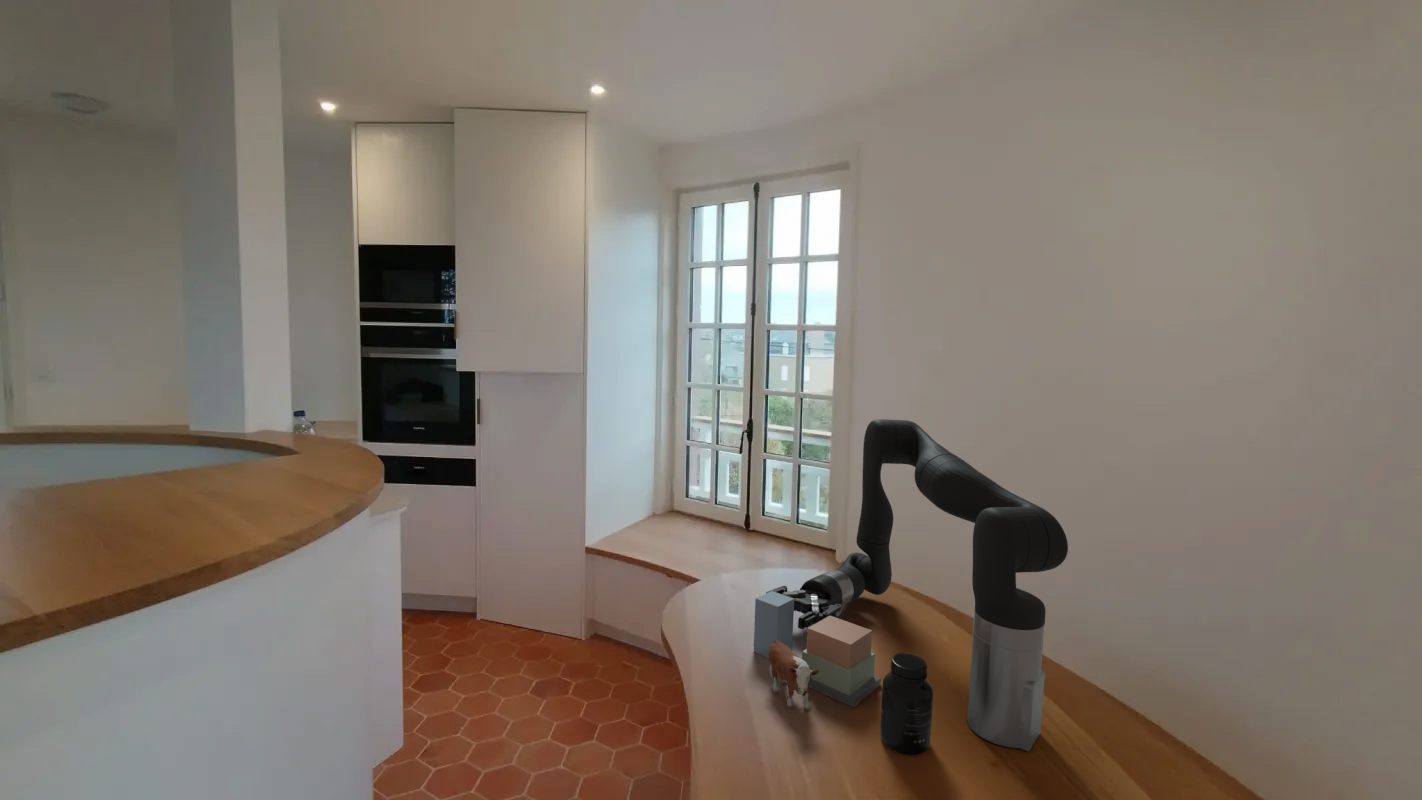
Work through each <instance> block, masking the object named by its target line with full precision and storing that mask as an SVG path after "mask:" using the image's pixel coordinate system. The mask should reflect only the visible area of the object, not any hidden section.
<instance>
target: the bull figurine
mask: <svg viewBox="0 0 1422 800" xmlns="http://www.w3.org/2000/svg"><path fill="white" fill-rule="evenodd" d="M768 659H769V660H768V661H769V672H770V677H771V679H773V683H772V688H773V690H772V691H773V692H774V693H775V694H778V693H780V688H779V685H778V677H779V679H781V681H782V682H781V683H782V684H783V685H787V693H788V698H787V700H786V702H787V703H786V705H787V706H786V707H787V708H789V709H792V708H793V707H794V702H793V697H794V694H795V692H796V693H797V694H798V695H799V696H801V695H802V697H803V703H802V704H803V709H804V710H805V711H810V710H811V706H810V703H809V699H808V698H809V691H808V690H809V687H808V685H809V684H810V682H811V675H816V674H818V673H819V670H810V668H809V666H808V664H807V663H806V662H805V661H804V660H803V659H802V657H800V656H799V655H797V654H796V652H794V651H793V649H792V650H791V649H790V648H789V647H787V646H786V645H785V644H783V643H781V642H780V641H778V640H776V641H774V643H773V644H772V645H771V646H770V649H769V658H768ZM794 691H795V692H794Z"/></svg>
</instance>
